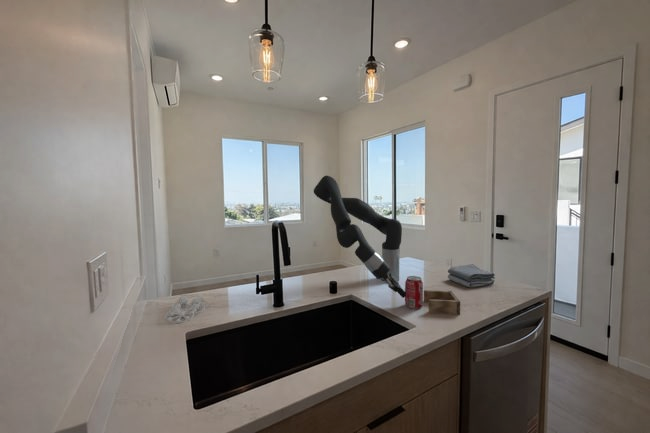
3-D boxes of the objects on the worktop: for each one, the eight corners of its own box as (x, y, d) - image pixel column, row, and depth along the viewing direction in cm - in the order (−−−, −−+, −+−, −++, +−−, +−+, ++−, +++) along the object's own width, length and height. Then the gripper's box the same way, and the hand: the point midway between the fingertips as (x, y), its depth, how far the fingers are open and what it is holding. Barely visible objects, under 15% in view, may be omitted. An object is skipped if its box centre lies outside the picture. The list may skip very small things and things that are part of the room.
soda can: (420, 303, 118) (421, 275, 117) (424, 310, 111) (425, 280, 110) (403, 302, 118) (403, 275, 118) (406, 309, 111) (406, 280, 111)
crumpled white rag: (195, 327, 101) (195, 316, 101) (153, 326, 100) (153, 315, 100) (212, 304, 121) (212, 295, 120) (177, 303, 119) (177, 294, 119)
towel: (446, 280, 149) (446, 266, 149) (472, 276, 155) (472, 263, 155) (469, 289, 135) (470, 273, 134) (497, 284, 141) (497, 269, 141)
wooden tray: (429, 312, 108) (429, 300, 108) (423, 301, 120) (423, 290, 119) (460, 314, 106) (460, 301, 106) (451, 302, 118) (451, 291, 118)
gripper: (369, 266, 123) (396, 295, 122) (369, 275, 110) (399, 308, 109) (382, 255, 121) (409, 284, 121) (384, 263, 108) (414, 296, 108)
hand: (404, 295), depth 115 cm, fingers closed
